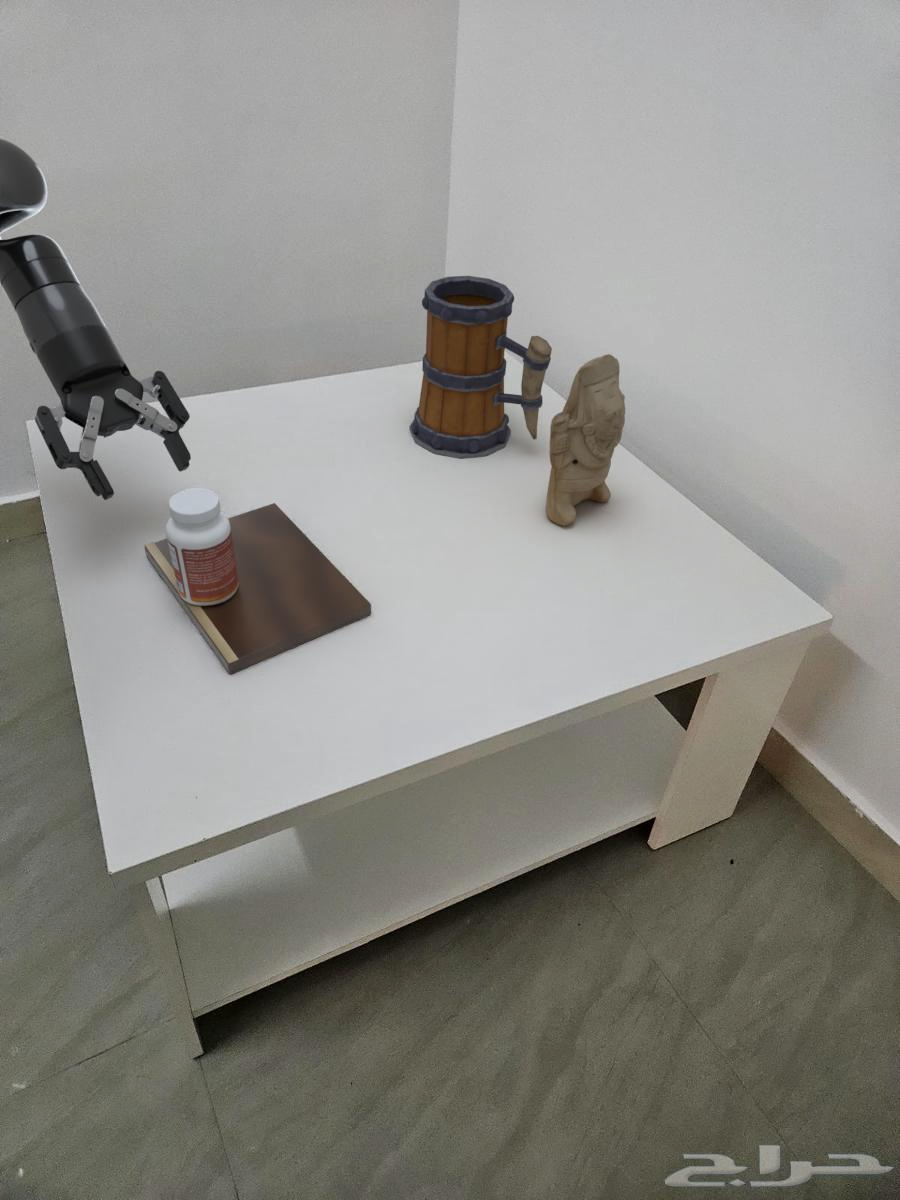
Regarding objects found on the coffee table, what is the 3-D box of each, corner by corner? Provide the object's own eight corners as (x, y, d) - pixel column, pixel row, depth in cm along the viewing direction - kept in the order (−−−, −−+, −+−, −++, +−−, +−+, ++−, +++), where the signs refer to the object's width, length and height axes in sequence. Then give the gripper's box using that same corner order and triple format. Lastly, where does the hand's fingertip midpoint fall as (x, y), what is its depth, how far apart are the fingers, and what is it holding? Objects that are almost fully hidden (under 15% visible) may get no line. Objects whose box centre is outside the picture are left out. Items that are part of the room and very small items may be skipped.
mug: (558, 435, 117) (579, 295, 104) (513, 481, 107) (530, 333, 94) (441, 398, 123) (448, 263, 110) (389, 438, 114) (389, 295, 101)
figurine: (561, 541, 97) (588, 386, 84) (519, 513, 102) (538, 360, 88) (630, 504, 104) (665, 356, 91) (588, 479, 108) (615, 333, 95)
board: (229, 675, 79) (227, 663, 77) (146, 556, 92) (143, 544, 91) (371, 614, 86) (371, 603, 85) (275, 512, 99) (274, 501, 98)
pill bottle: (250, 581, 87) (240, 493, 80) (215, 615, 82) (201, 525, 75) (202, 564, 89) (187, 476, 81) (165, 596, 84) (146, 507, 77)
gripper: (3, 343, 77) (88, 497, 79) (143, 307, 85) (218, 448, 86) (-1, 375, 83) (78, 517, 85) (129, 339, 91) (199, 470, 93)
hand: (148, 482), depth 86 cm, fingers open, 8 cm apart
